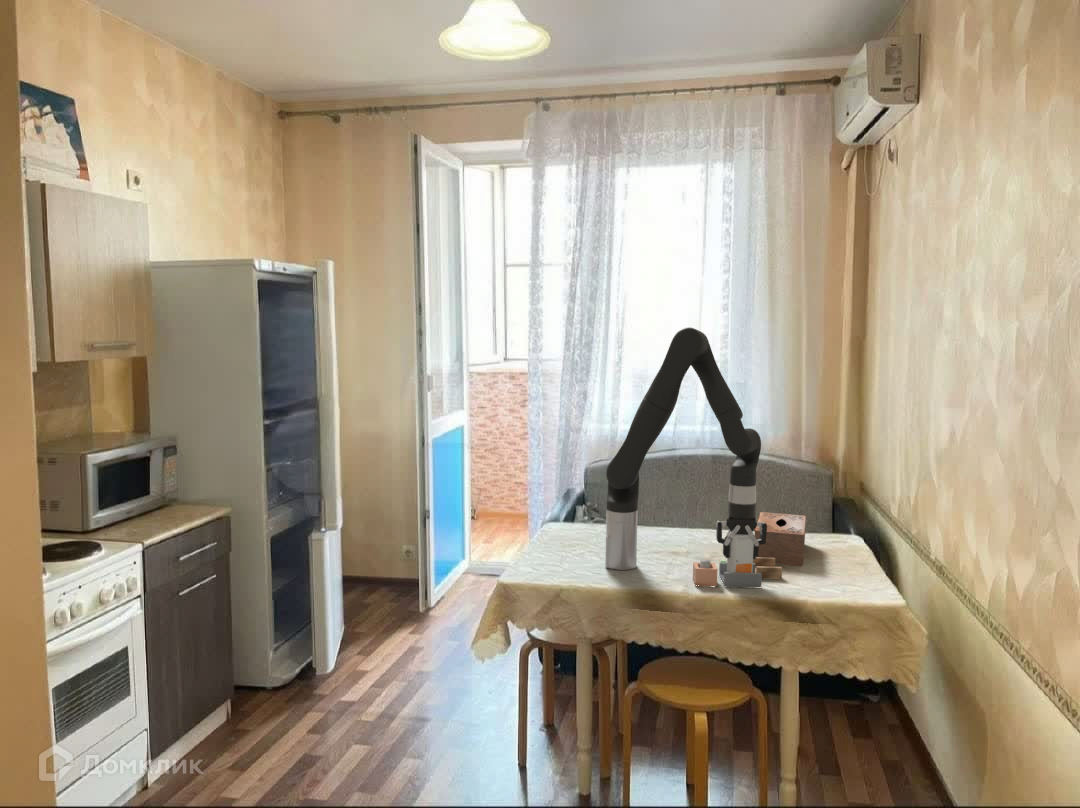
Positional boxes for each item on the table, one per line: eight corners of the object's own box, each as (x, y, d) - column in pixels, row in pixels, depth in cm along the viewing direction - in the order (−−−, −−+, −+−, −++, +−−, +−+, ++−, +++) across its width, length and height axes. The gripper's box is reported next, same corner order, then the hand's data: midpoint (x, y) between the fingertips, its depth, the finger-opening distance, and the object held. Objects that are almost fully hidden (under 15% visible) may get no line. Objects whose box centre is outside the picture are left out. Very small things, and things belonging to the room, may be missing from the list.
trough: (756, 578, 237) (757, 567, 236) (750, 567, 247) (750, 556, 247) (781, 579, 236) (782, 568, 236) (774, 568, 246) (774, 557, 246)
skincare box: (733, 578, 230) (735, 536, 229) (726, 573, 234) (727, 532, 233) (753, 576, 232) (754, 534, 231) (745, 571, 236) (747, 530, 235)
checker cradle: (724, 587, 228) (724, 570, 228) (718, 575, 239) (719, 559, 238) (761, 588, 228) (761, 571, 227) (754, 576, 238) (754, 560, 237)
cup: (695, 586, 229) (695, 563, 228) (692, 579, 235) (693, 557, 234) (717, 586, 229) (717, 564, 228) (713, 580, 235) (714, 558, 234)
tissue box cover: (802, 567, 248) (804, 534, 247) (753, 562, 253) (754, 530, 252) (804, 545, 273) (805, 515, 272) (759, 541, 277) (760, 511, 276)
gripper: (718, 502, 228) (716, 561, 229) (771, 503, 227) (769, 562, 228) (714, 496, 235) (712, 553, 237) (765, 497, 234) (763, 554, 236)
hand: (740, 557), depth 233 cm, fingers closed on skincare box, 7 cm apart
